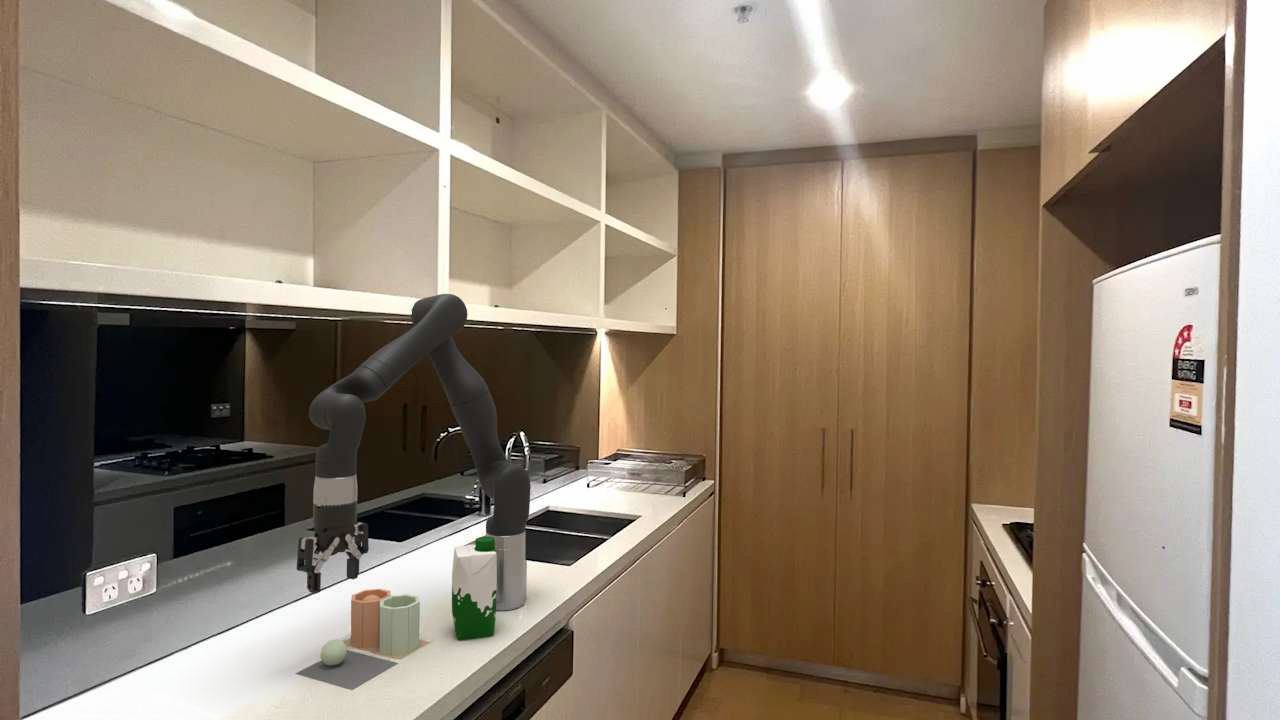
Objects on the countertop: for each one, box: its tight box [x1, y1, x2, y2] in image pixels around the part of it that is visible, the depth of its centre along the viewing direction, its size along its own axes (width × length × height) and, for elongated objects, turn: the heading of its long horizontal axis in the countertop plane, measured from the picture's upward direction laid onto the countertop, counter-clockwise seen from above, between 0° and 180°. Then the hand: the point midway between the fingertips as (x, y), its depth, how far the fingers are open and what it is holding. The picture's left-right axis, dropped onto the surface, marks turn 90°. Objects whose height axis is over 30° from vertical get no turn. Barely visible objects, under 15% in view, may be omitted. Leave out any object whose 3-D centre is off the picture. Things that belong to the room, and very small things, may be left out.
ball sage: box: [320, 639, 348, 666], centre depth 124 cm, size 4×4×4 cm
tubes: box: [342, 588, 431, 661], centre depth 133 cm, size 8×16×10 cm, turn 67°
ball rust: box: [362, 595, 381, 602], centre depth 136 cm, size 4×4×4 cm
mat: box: [294, 649, 399, 691], centre depth 123 cm, size 11×14×1 cm
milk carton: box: [451, 535, 497, 642], centre depth 139 cm, size 9×9×20 cm
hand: (333, 585), depth 125 cm, fingers open, 8 cm apart
